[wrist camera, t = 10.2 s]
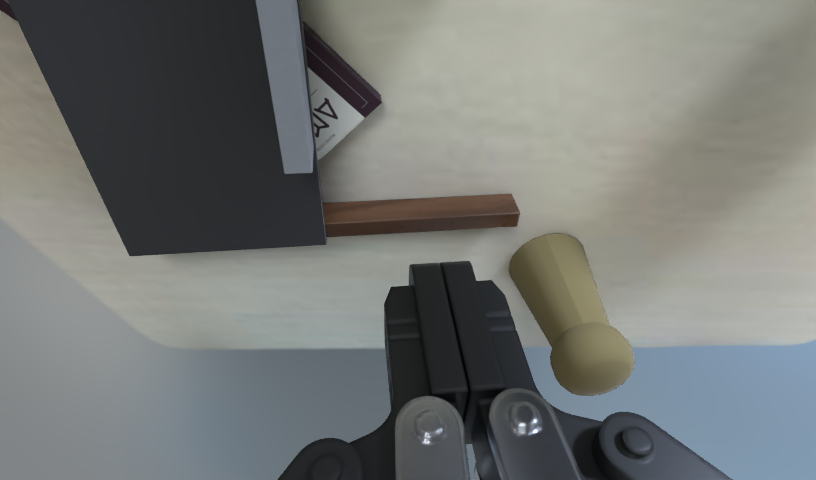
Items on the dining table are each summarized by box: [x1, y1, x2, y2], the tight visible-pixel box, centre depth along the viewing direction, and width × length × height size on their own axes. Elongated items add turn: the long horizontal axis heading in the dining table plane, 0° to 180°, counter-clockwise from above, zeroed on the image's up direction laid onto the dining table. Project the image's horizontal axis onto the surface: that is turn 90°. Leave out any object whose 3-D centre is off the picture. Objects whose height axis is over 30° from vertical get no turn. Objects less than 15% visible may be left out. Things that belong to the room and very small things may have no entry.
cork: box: [509, 233, 635, 396], centre depth 36 cm, size 6×6×11 cm
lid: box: [8, 0, 327, 256], centre depth 22 cm, size 24×12×3 cm, turn 179°
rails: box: [323, 194, 520, 237], centre depth 25 cm, size 24×25×2 cm
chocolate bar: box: [0, 0, 382, 161], centre depth 25 cm, size 9×1×18 cm
